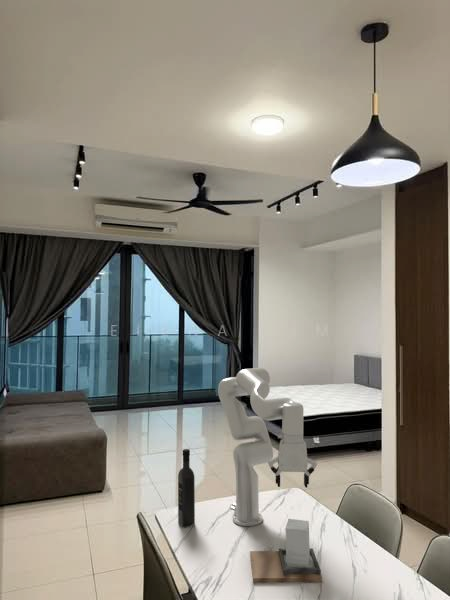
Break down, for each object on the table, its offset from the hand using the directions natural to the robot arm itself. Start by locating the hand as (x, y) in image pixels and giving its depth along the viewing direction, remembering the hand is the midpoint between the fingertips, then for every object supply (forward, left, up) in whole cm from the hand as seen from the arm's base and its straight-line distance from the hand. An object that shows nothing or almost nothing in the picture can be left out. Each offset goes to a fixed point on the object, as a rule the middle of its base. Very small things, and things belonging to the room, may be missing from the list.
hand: (292, 485), depth 151 cm
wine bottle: (-46, -10, -25) cm, 53 cm away
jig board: (+2, -8, -24) cm, 26 cm away
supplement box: (+5, -5, -23) cm, 24 cm away
